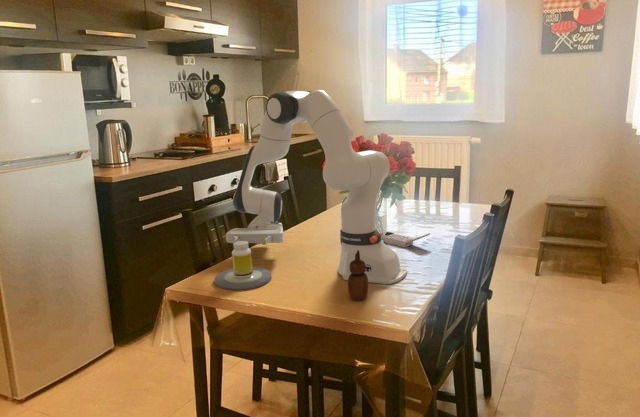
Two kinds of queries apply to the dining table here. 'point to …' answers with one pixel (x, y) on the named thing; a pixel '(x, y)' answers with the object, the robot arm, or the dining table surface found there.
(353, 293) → the brown squeeze bottle
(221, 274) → the plate
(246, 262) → the pill bottle
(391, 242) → the grey brush
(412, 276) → the dining table surface
